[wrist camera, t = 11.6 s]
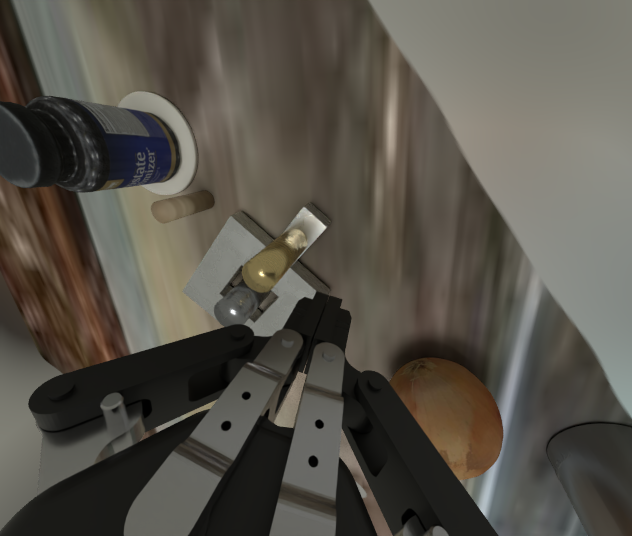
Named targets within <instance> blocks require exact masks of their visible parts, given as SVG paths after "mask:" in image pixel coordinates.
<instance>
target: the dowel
mask: <svg viewBox="0 0 632 536" xmlns="http://www.w3.org/2000/svg"><path fill="white" fill-rule="evenodd" d="M213 205H214V198H213V196H212V194H211V193H210V192H208V191H200V192H196V193H191V194H187V195H183V196H178V197H174V198H169V199H165V200H161V201H156V202H154V203H153V204H152V206H151V211H152V214H153V216H154V218H155V219H156V220H157V221H159V222H160V223H168V222H171V221H174V220H176V219H179V218H182V217H185V216H188V215H191V214H194V213H197V212H200V211H203V210H206V209H209V208H212V207H213Z"/></svg>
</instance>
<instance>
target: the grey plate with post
mask: <svg viewBox="0 0 632 536" xmlns="http://www.w3.org/2000/svg"><path fill="white" fill-rule="evenodd" d="M330 223H331V221H330V220H329V219H328V218H327V217H326V216H325V215H324V214H323V213H322V212H321V211H320V210H318V209H317V208H316V207H315V206H314V205H313V204H312V203H311V202H310V203H308V204H307V205H306V206H304V207H303V208H302V210H301V211H300V212H299V213H298V215H297V216H296V217H295V218H294V220H293V221H292V222H291V223H290V225H289V226H288V227H287V228H286V229H285V231H284V232H283V233H282V234H281V235H280V236H279V237H278V238H276V239H275V240H274V239H272V238H271V237H270V236H269V235H268V234H267V233H266V232H265V231H263V230H262V229H261V228H260V227H259V226H258V225H257V224H256V223H254V222H253V221H252V220H251V219H250V218H249V217H248V216H246V215H245V214H244V213H243V212H242V211H241V212H238V213H236V214H234V215H231V216H230V217H229V219H228V221H227V222H226V224H225V225H224V227H223V228H222V230H221V232H220V233H219V235H218V236H217V238H216V239H215V241H214V243H213V244H212V246H211V247H210V249H209V250H208V252H207V254H206V255H205V257H204V258H203V260H202V261H201V263H200V264H199V266H198V268H197V269H196V271H195V272H194V274H193V275H192V277H191V279H190V280H189V282H188V283H187V285H186V286H185V288H184V290H183V291H182V292H184V293H185V294H186V295H187V296H188V297H190V298H191V299H192V300H193V301H194V302H196V303H197V304H198V305H199V306H201V307H202V308H203V309H204V310H205V311H207V312H208V313H209V314H210V315H211V316H213V317H214V318H215V319H216V317H215V314H214V306H215V305H216V303H217V302H219V301H220V300H221V299H222V298H223V297H224V296H225V295H226V294H227V293H229V292H230V291H231V290H232V289H233V288H232V287H231V286H230V284H231V283H232V281H233V280H234V279H235V277H236V276H237V275H238V273H239V272H240V271H241V270H242V277H243V279H244V281H245V283H246V284H247V285H248V286H249V287H250V288H251V289H252V290H254V291H257V292H261V293H264V292H268V291H270V290H271V291H273V292H274V293H275V294H276V295H277V296H278V297H277V298H276V299H275V300H274V301H273V302H272V303H271V304H270V305H269V306H268V307H267V308H266V310H265V311H264V312H263V313H262V312H261V311H260V310H258V309H256V310H255V312H254V313H253V314H252V315H251V316H250V318H249V319H248V320H247V321H246V323H245V324H244V325H246V326H248V327H250V328H251V329H252V330H253V332H254V336H273V334H274V333H275V332H276V331H278V330H281V329H282V328H283V326H284V325H285V323H286V321H287V319H288V318H289V316H290V314H291V312H292V311H293V309H294V307H295V305H296V304H297V302H298V300H300V299H302V298H303V297H307V298H310V299H313V297H314V295H315V293H316V291H318V292H321V293H324V294H327V295H329V293H330V289H329V288H328V287H327V286H325V285H324V284H323V283H322V282H321V281H320V280H319V279H318V278H316V277H315V276H314V275H313V274H312V273H311V272H310V271H309V270H307V269H306V268H305V267H304V266H303V265H302V264H301V263H300V262H298V261H297V260H298V259H299V257H300V256H301V255H302V254H303V253H304V252H305V251H306V250H307V249H308V248H309V246H310V245H311V244H312V243H313V242H314V241H315V240H316V239H317V238H318V237H319V235H320V234H321V233H322V232H323V231H324V230H325V229H326V228H327V227H328V225H329V224H330ZM216 320H217V319H216ZM217 321H218V320H217Z"/></svg>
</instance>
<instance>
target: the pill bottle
mask: <svg viewBox="0 0 632 536" xmlns="http://www.w3.org/2000/svg"><path fill="white" fill-rule="evenodd" d="M179 165H180V153H179V145H178V141H177V139H176V137H175V135H174V133H173V131H172V130H171V129H170V127H169V126H168V125H167V124H166V123H165V122H164V121H163V120H162V119H161V118H159V117H158V116H156V115H154V114H152V113H149V112H144V111H138V110H132V109H127V108H120V107H114V106H109V105H102V104H96V103H90V102H84V101H78V100H72V99H67V98H61V97H54V96H43V97H38V98H35V99H33V100H31V101H30V102H29V103H28V104H27V105H26V106H25V107H24V106H22V105H20V104H16V103H12V102H1V101H0V175H1V176H2V177H3V178H5V179H6V180H7V181H9V182H10V183H12V184H14V185H16V186H19V187H23V188H34V187H48V186H52V185H53V184H57V185H58V186H60V187H62V188H65V189H67V190H70V191H75V192H93V191H100V190H108V189H115V188H123V187H131V186H139V185H146V184H153V183H163V182H166V181H168V180H170V179H171V178H172V177H173V176H174V175H175V174H176V173H177V170H178V168H179Z"/></svg>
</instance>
